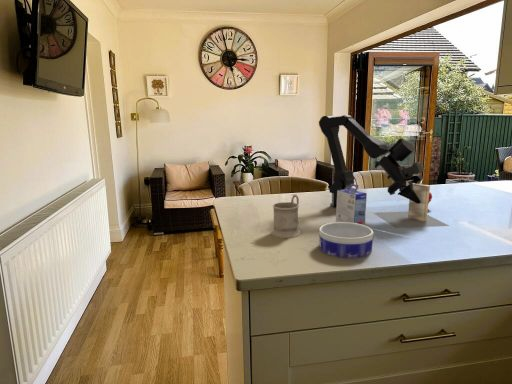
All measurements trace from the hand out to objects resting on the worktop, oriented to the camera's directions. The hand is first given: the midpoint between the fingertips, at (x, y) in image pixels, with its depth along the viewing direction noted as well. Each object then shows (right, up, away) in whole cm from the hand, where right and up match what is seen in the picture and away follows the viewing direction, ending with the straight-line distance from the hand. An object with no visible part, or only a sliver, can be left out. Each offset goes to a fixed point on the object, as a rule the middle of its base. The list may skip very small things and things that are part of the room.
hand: (421, 202), depth 129 cm
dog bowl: (-33, -13, -24) cm, 43 cm away
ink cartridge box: (-26, -8, -1) cm, 27 cm away
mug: (-49, -10, -7) cm, 50 cm away
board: (-1, -6, +2) cm, 7 cm away
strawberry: (+9, -3, +19) cm, 21 cm away
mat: (-3, -7, +3) cm, 8 cm away
